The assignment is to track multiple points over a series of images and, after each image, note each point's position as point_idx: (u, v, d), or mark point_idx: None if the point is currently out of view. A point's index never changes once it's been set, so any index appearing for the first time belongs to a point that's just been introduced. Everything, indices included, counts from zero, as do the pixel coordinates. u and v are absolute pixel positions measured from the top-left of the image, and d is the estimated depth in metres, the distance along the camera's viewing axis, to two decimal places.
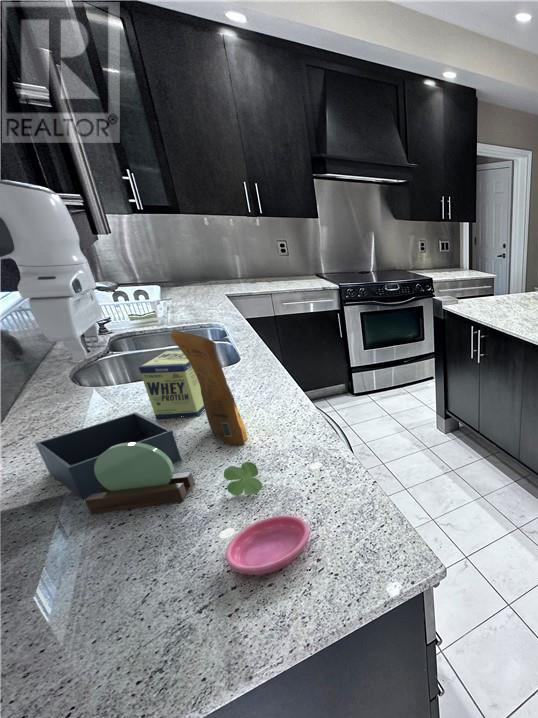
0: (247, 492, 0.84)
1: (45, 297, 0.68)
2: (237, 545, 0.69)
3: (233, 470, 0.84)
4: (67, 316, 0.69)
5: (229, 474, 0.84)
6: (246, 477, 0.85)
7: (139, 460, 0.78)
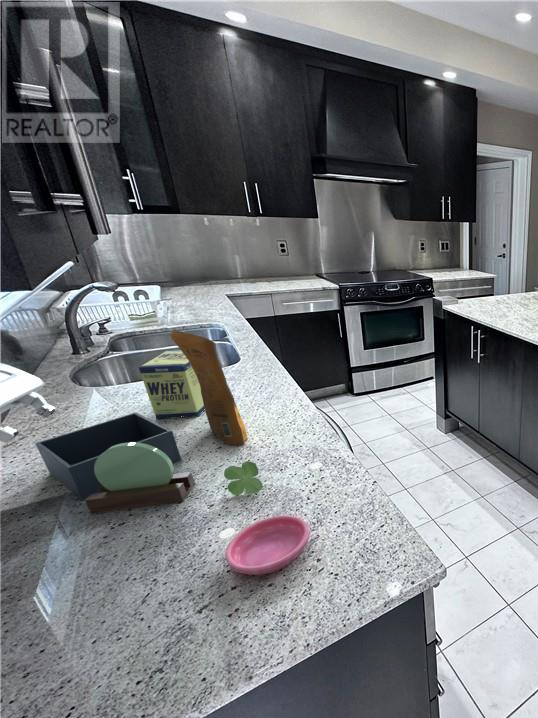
0: (247, 492, 0.84)
1: None
2: (237, 545, 0.69)
3: (233, 470, 0.84)
4: None
5: (230, 474, 0.84)
6: (246, 477, 0.85)
7: (139, 460, 0.78)
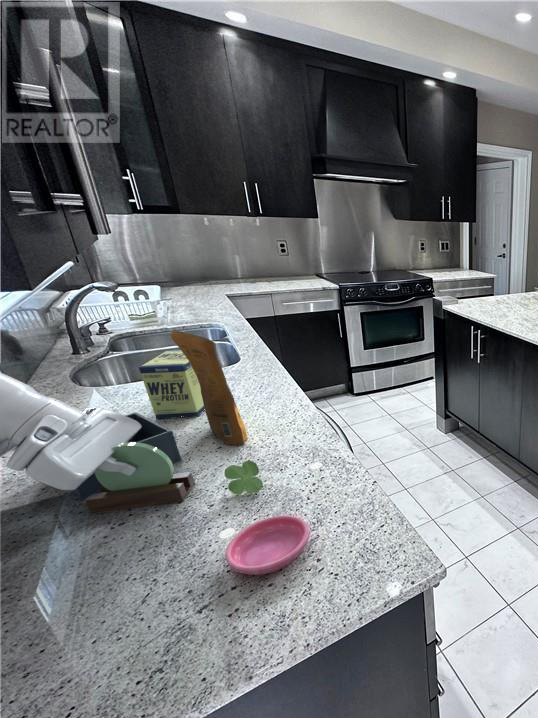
0: (247, 491, 0.85)
1: (29, 460, 0.66)
2: (237, 545, 0.69)
3: (233, 469, 0.84)
4: (53, 465, 0.66)
5: (230, 473, 0.84)
6: (247, 476, 0.85)
7: (140, 460, 0.78)
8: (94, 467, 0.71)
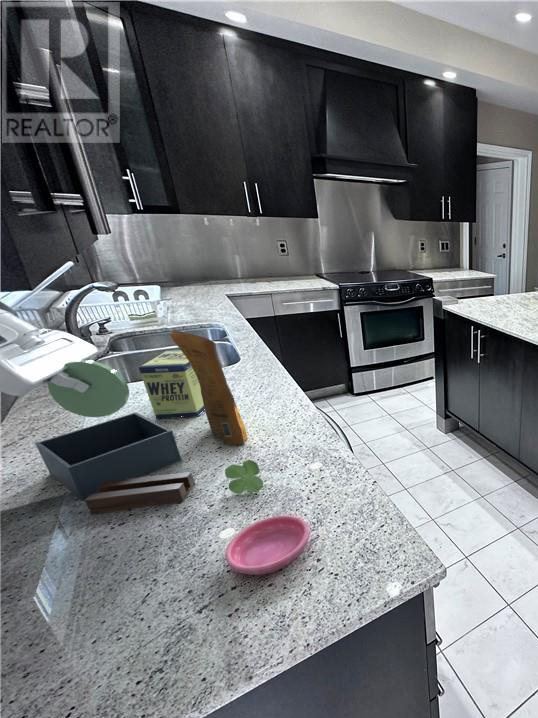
0: (248, 490, 0.85)
1: None
2: (237, 545, 0.69)
3: (234, 469, 0.84)
4: (1, 369, 0.68)
5: (230, 473, 0.84)
6: (247, 475, 0.85)
7: (93, 378, 0.80)
8: (44, 377, 0.72)
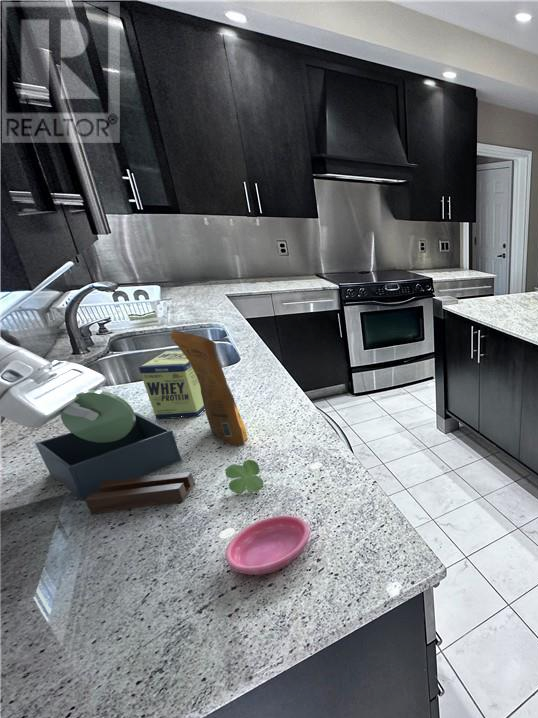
0: (248, 490, 0.85)
1: None
2: (237, 545, 0.69)
3: (234, 468, 0.85)
4: (18, 404, 0.73)
5: (231, 472, 0.84)
6: (248, 475, 0.86)
7: (102, 407, 0.85)
8: (57, 409, 0.78)
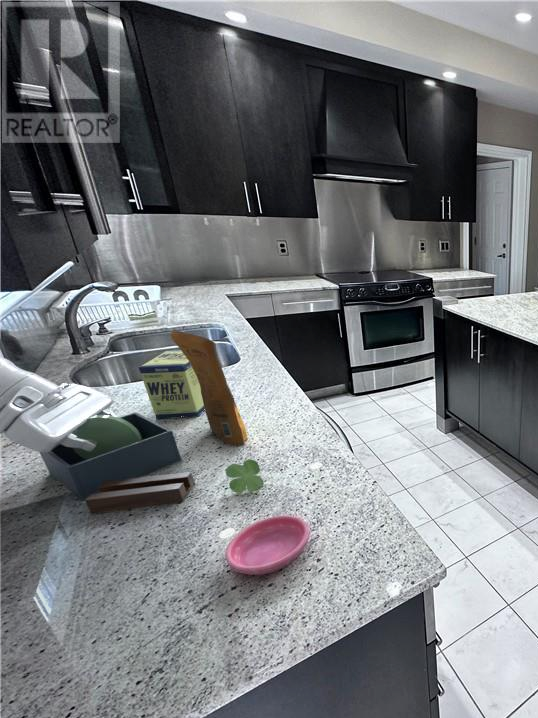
0: (249, 489, 0.85)
1: (8, 425, 0.75)
2: (237, 545, 0.69)
3: (235, 468, 0.85)
4: (29, 429, 0.75)
5: (231, 472, 0.84)
6: (248, 474, 0.86)
7: (109, 431, 0.88)
8: (67, 433, 0.80)
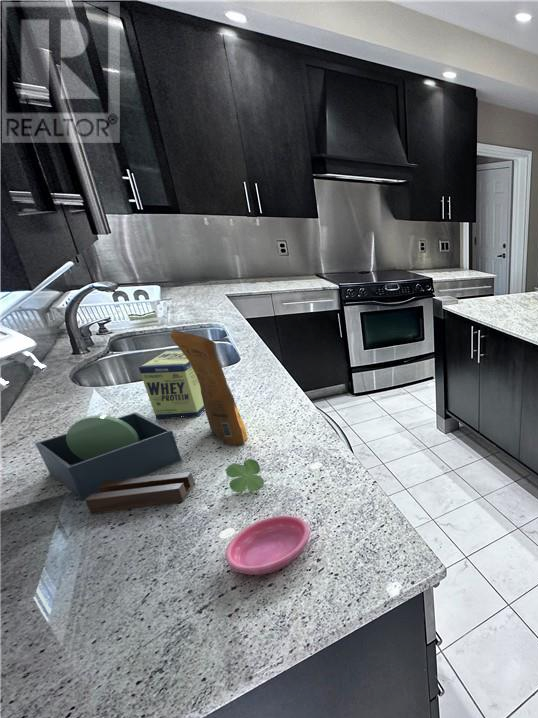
0: (249, 489, 0.85)
1: None
2: (237, 545, 0.69)
3: (235, 467, 0.85)
4: None
5: (231, 471, 0.85)
6: (248, 474, 0.86)
7: (105, 431, 0.87)
8: None
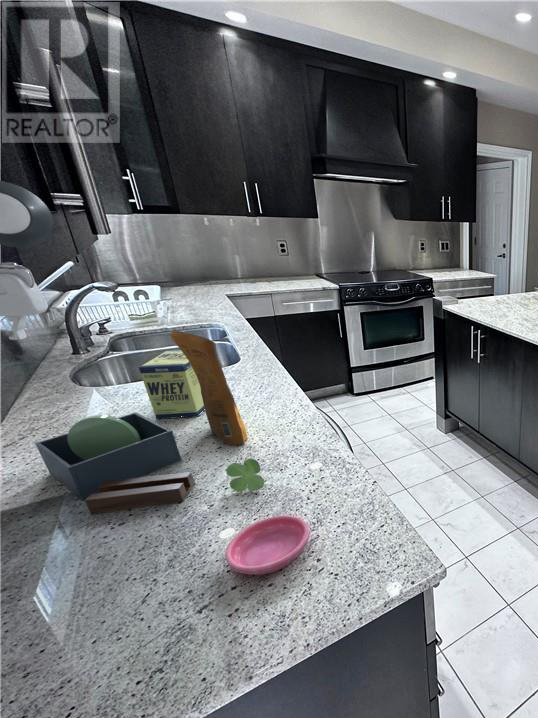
0: (249, 489, 0.85)
1: None
2: (237, 545, 0.69)
3: (235, 467, 0.85)
4: None
5: (232, 471, 0.85)
6: (248, 474, 0.86)
7: (106, 431, 0.87)
8: None
